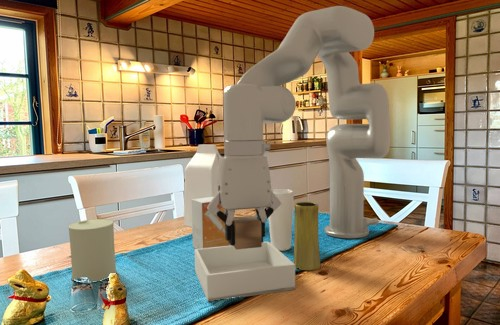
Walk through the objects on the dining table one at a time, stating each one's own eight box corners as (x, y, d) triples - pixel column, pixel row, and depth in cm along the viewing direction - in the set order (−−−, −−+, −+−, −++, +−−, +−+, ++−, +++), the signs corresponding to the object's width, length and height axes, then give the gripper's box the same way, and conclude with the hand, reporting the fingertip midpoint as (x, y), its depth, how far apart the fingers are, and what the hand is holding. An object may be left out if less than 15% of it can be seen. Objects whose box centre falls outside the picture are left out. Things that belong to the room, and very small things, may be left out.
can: (97, 265, 94) (94, 215, 92) (125, 272, 89) (122, 219, 88) (62, 278, 86) (58, 224, 85) (90, 287, 81) (87, 229, 80)
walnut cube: (254, 240, 81) (253, 215, 81) (261, 246, 76) (261, 221, 76) (230, 242, 80) (229, 217, 79) (236, 249, 75) (235, 223, 75)
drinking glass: (297, 246, 105) (296, 189, 104) (289, 253, 99) (288, 194, 98) (273, 243, 108) (272, 188, 106) (263, 250, 102) (262, 192, 100)
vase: (314, 272, 86) (313, 207, 85) (288, 267, 89) (287, 205, 88) (324, 264, 91) (324, 202, 90) (300, 259, 94) (299, 200, 93)
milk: (183, 225, 129) (180, 145, 126) (205, 218, 139) (203, 143, 136) (213, 230, 122) (211, 145, 120) (234, 222, 132) (232, 143, 130)
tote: (268, 262, 93) (268, 241, 93) (295, 289, 78) (295, 264, 77) (195, 271, 88) (194, 249, 88) (207, 301, 73) (207, 275, 72)
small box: (203, 253, 101) (201, 202, 99) (192, 247, 106) (190, 199, 105) (230, 247, 105) (229, 198, 104) (219, 241, 110) (217, 195, 109)
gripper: (278, 147, 82) (279, 233, 84) (196, 150, 78) (199, 241, 79) (292, 149, 75) (293, 243, 77) (203, 152, 71) (205, 252, 72)
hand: (245, 241), depth 78 cm, fingers closed on walnut cube, 5 cm apart
